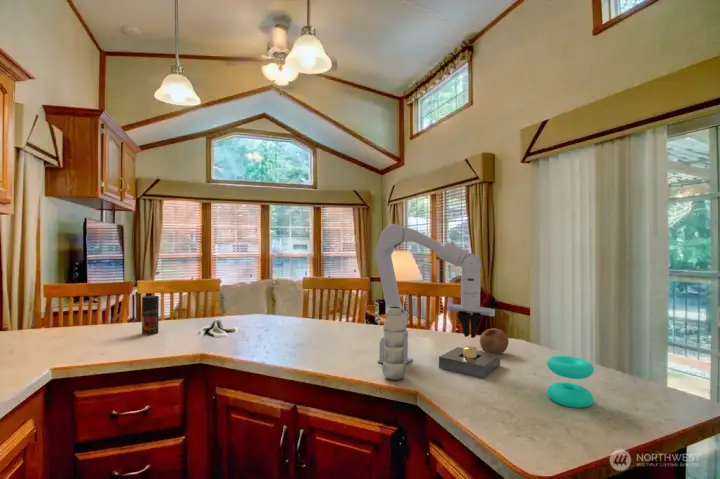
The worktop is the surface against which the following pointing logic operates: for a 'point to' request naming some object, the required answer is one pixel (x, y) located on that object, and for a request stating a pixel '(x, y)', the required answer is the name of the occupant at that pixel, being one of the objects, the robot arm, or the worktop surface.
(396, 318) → the plastic bottle
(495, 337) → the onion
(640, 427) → the worktop surface
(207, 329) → the cloth
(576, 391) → the donuts
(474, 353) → the bushing
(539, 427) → the worktop surface
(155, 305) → the deodorant
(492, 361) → the block
